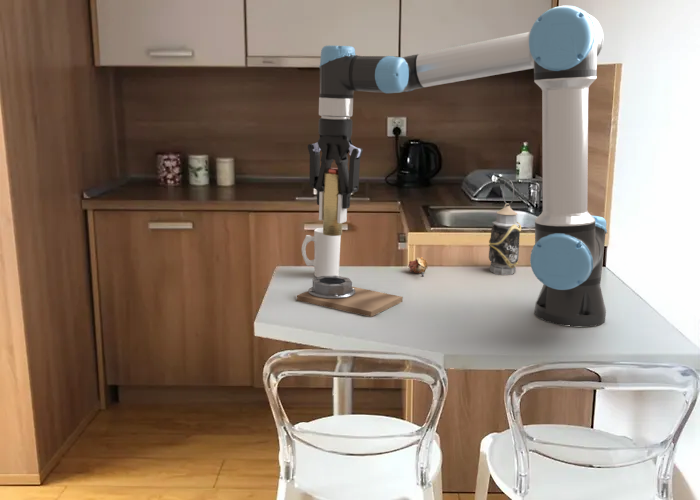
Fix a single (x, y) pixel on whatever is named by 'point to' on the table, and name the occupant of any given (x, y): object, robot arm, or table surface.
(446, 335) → the table surface
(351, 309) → the board
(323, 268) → the mug
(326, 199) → the gold cylinder
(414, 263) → the figurine
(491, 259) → the lantern
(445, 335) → the table surface
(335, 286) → the flange socket
